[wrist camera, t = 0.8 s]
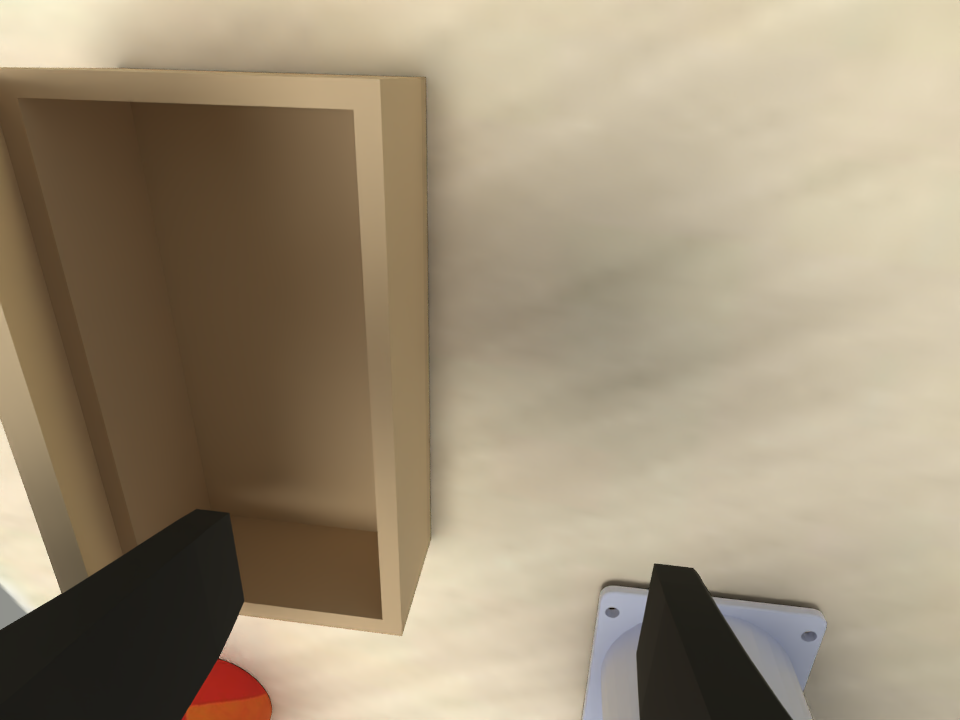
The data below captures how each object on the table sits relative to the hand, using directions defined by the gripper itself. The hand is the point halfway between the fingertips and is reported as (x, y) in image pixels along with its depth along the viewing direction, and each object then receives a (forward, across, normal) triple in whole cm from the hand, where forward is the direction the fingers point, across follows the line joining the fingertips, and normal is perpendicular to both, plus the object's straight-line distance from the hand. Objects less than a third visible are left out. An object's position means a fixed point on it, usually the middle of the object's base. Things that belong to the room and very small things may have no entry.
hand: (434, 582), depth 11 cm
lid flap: (+2, +8, 0) cm, 9 cm away
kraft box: (+10, +7, 0) cm, 12 cm away
